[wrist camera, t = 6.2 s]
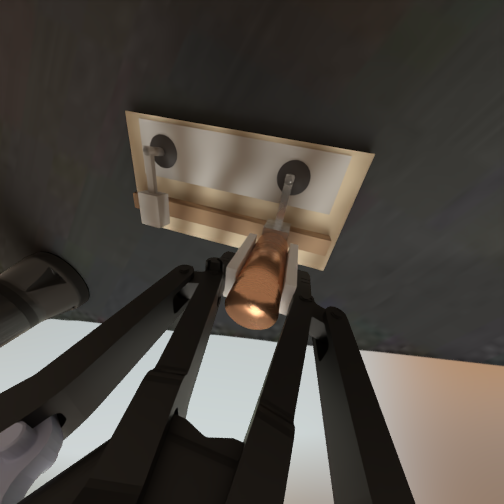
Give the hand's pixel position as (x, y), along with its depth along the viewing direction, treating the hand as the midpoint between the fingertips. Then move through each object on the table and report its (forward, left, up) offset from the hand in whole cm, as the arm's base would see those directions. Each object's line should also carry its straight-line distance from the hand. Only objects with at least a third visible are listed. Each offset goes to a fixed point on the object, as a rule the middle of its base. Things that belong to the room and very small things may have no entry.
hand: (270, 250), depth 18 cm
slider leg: (0, +3, -5) cm, 6 cm away
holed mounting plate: (-7, +3, -7) cm, 10 cm away
